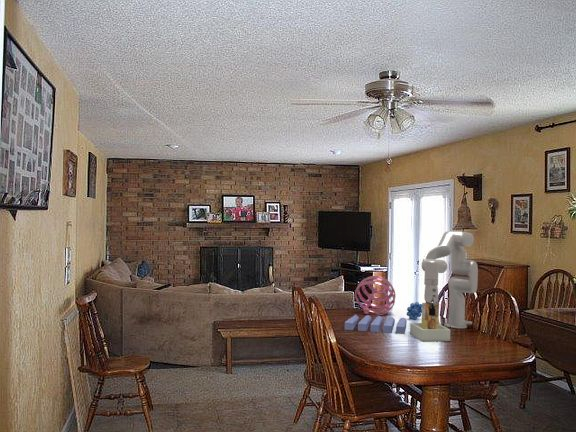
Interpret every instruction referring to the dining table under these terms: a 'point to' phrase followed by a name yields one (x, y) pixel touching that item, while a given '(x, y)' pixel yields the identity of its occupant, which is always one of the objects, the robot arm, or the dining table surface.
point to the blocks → (376, 324)
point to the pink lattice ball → (371, 297)
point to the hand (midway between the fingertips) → (430, 314)
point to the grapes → (414, 310)
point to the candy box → (429, 317)
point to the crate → (430, 333)
